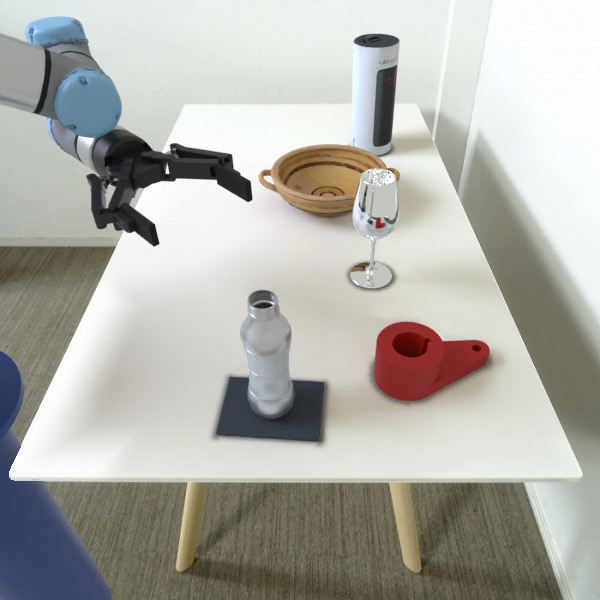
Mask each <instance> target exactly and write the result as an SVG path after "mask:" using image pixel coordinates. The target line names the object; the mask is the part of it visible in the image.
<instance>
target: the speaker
mask: <svg viewBox="0 0 600 600" xmlns="http://www.w3.org/2000/svg"><path fill="white" fill-rule="evenodd" d="M400 42H401V40H400V38H399V37H397V36H395V35H393V34H388V33H366V34H361V35H359V36H356V37H355V38H354V39H353V50H352V82H351V83H352V85H351V88H352V89H351V112H350V113H351V115H350V118H351V119H350V141H349V142H350V143H349V144H350V145H349V146H353V147H357V148H361V149H364V150H366V151H369V152H371V153H373V154H375V155H376V156H378V157H380V156H384V155H387V154H388V153H389V152H390V151H391V150H392V142H393V131H394V130H393V127H394V118H395V117H394V116H395V104H396V93H397V92H396V90H397V78H398V65H399V55H400Z"/></svg>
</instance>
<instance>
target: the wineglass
mask: <svg viewBox="0 0 600 600" xmlns="http://www.w3.org/2000/svg"><path fill="white" fill-rule="evenodd" d="M399 219H400V198H399V188H398V182H397V181H396V176H395V174H394V173H393V172H391V171H389V170H386V169H378V168H377V169H369V170H366V171H365V172H363V173H362V174H361V177H360V180H359V184H358V187H357V190H356V194H355V198H354V203H353V209H352V212H351V221H352V224H353V227H354V229H355V230H356V232H357V233H358V234H360V235H361V236H362V237H363V238H366V239H368V240H370V255H369V261H365V262H360V263H358V264H355V265H354V266H352V268H351V270H350V272H349V277H350V279H351V281H352V283H354V284H355V285H357V286H359V287H361V288H364V289H372V290H373V289H380V288H383V287H386V286H387V285H388V284H390V282H391V281H392V278H393V274H392V271H391V270H390V268H388V267H387V266H386V265H384V264H382V263H380V262H375V253H376V251H375V250H376V244H377V241H378V240H382V239H384V238H386V237H389V236H390V235H391V234H392V233H393V232H394V230H396V228H397V226H398V223H399Z"/></svg>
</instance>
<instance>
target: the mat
mask: <svg viewBox="0 0 600 600" xmlns="http://www.w3.org/2000/svg"><path fill="white" fill-rule="evenodd" d="M291 381H292V383H293V387H294V392H295V397H294V402H293V406H292V408H291V409H290V411H289V412H288V413H286V414H285V415H284V416H282V417H280V418H276V419H267V418H264V417H261V416H259V415H258V414H256V413H255V412H254V411H253V410H252V408H251V406H250V403H249V401H248V396H247V393H248V384H249V377H243V376H242V377H241V376H229V379H228V383H227V387H226V391H225V395H224V399H223V402H222V407H221V410H220V415H219V419H218V422H217V426H216V431H215V434H216V435H217V436H228V437H245V438H247V437H248V438H259V439H261V438H262V439H273V440H293V441H305V442H306V441H308V442H320V439H321V437H320V436H321V423H322V414H323V413H322V412H323V399H324V387H325V386H324V385H325V382H324V381H317V380H316V381H315V380H314V381H313V380H298V379H297V380H296V379H294V380H293V379H291Z"/></svg>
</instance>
